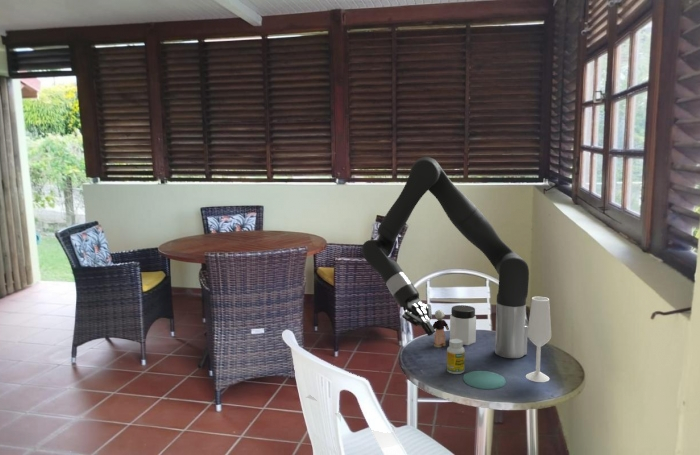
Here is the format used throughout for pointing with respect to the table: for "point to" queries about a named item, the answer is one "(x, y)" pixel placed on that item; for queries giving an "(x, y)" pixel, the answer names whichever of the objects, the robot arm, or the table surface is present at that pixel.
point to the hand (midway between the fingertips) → (432, 333)
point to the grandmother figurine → (440, 329)
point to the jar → (463, 324)
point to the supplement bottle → (455, 357)
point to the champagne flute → (539, 332)
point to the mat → (484, 380)
